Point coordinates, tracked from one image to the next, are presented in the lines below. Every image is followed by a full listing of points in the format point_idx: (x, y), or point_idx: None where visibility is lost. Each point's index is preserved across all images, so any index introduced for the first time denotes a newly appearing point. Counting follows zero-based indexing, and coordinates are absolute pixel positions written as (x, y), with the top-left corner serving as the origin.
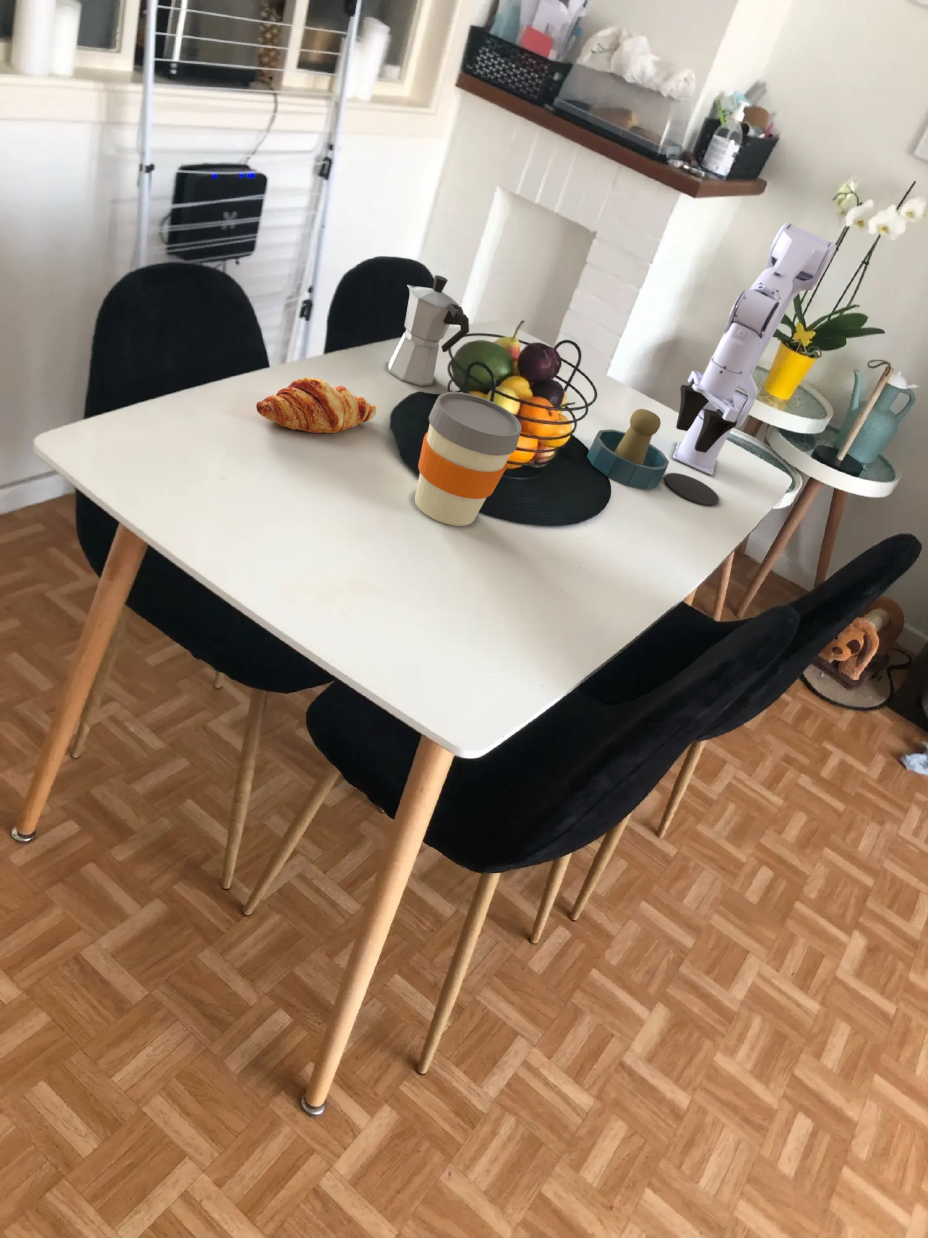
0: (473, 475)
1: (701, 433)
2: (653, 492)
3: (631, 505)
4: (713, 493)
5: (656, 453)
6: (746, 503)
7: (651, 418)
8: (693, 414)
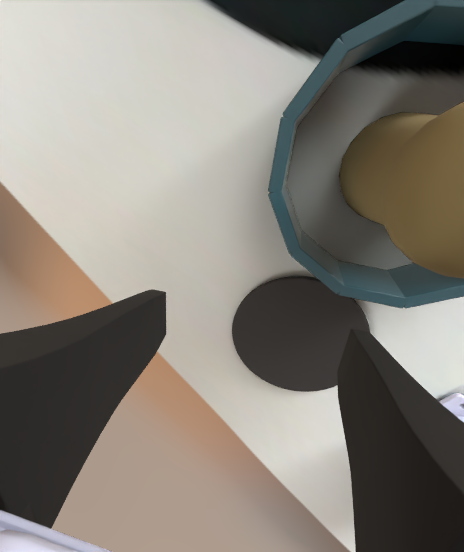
0: None
1: (97, 315)
2: (266, 207)
3: (176, 73)
4: (283, 382)
5: (406, 291)
6: (266, 434)
7: (437, 181)
8: (356, 440)
